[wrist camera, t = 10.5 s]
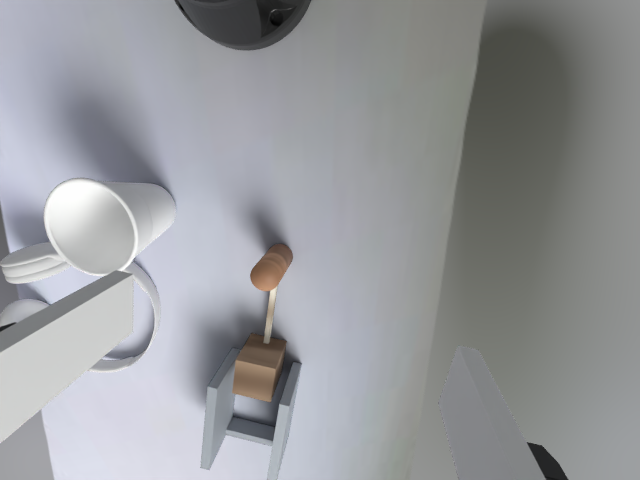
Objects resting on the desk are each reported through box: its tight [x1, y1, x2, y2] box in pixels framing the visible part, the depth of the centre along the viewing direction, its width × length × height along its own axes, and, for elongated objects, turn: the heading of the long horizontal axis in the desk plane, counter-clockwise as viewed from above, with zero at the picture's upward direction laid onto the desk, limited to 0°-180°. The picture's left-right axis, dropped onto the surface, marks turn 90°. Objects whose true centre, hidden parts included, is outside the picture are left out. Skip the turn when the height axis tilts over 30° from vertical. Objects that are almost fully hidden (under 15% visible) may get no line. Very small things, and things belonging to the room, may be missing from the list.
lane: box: [200, 348, 302, 480], centre depth 47 cm, size 13×10×8 cm
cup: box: [44, 178, 176, 276], centre depth 39 cm, size 10×10×11 cm
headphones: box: [0, 242, 161, 373], centre depth 47 cm, size 7×18×20 cm
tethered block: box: [232, 244, 293, 402], centre depth 43 cm, size 19×5×7 cm, turn 170°
